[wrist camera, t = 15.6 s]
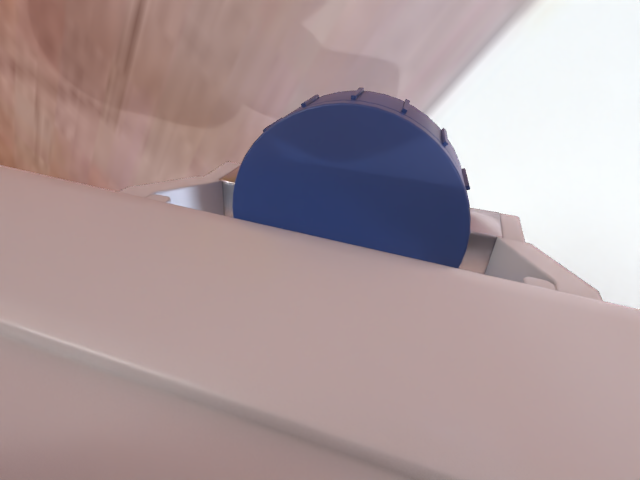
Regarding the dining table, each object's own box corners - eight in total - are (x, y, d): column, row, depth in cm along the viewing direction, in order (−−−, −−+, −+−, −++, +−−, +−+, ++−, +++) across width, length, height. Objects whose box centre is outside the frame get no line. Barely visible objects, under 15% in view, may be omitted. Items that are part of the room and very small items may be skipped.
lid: (502, 242, 11) (514, 279, 9) (324, 309, 14) (310, 348, 12) (400, 38, 9) (394, 42, 8) (219, 159, 12) (186, 180, 10)
